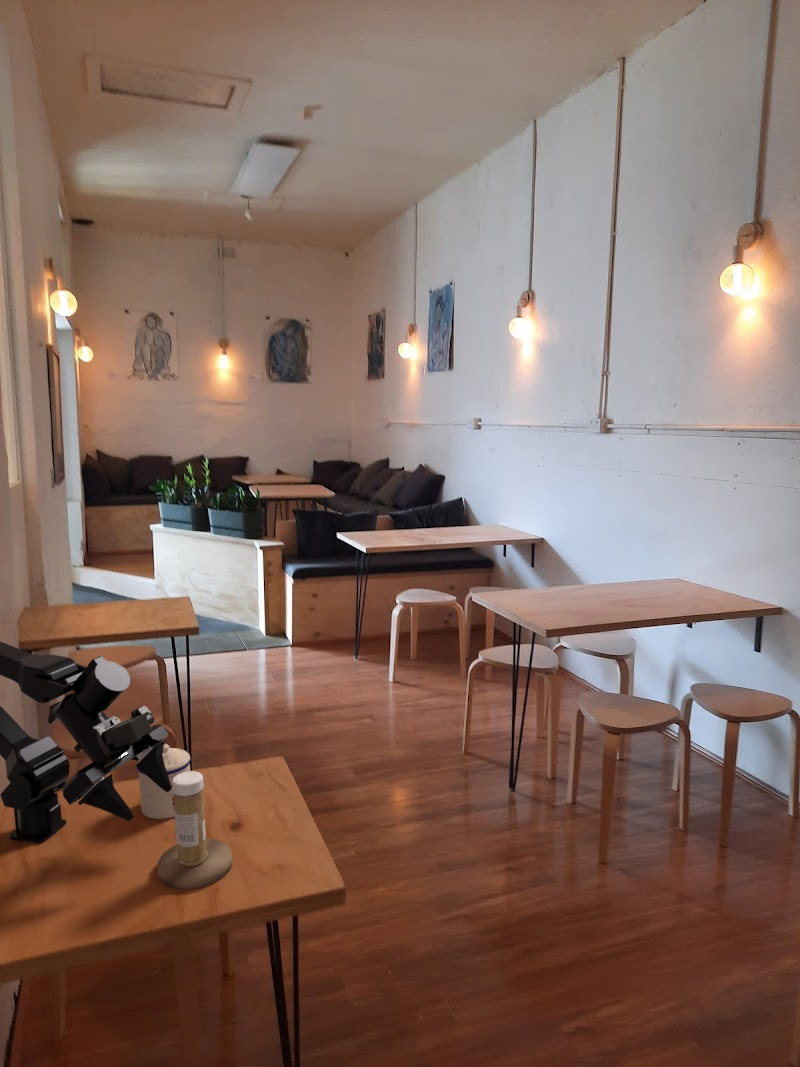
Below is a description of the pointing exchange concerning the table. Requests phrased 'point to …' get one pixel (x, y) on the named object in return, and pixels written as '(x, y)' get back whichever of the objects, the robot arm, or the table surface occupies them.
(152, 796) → the cream ceramic jar
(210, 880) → the grey-brown round disc
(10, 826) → the table surface
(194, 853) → the sprinkles bottle
